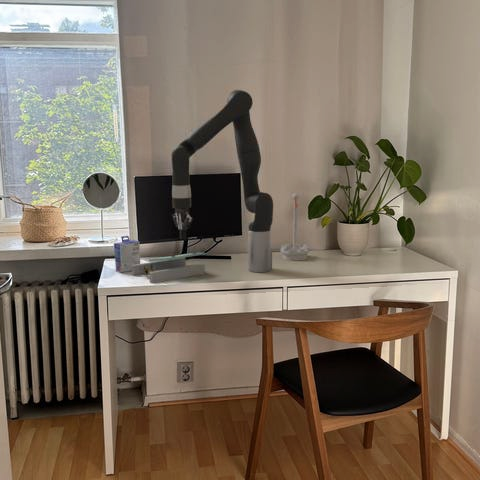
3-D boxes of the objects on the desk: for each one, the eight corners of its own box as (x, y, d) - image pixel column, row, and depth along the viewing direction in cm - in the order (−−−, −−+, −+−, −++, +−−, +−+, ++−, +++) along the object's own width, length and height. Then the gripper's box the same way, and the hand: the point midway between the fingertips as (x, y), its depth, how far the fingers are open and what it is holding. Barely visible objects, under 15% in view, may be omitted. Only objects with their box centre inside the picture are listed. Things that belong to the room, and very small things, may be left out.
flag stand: (278, 255, 294) (278, 191, 288) (305, 254, 295) (306, 191, 289) (283, 261, 281) (283, 195, 275) (311, 260, 282) (312, 194, 276)
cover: (183, 256, 271) (183, 253, 271) (204, 254, 258) (204, 251, 258) (149, 261, 261) (149, 258, 261) (169, 259, 248) (168, 256, 248)
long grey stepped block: (183, 266, 272) (183, 257, 272) (204, 273, 259) (204, 263, 258) (132, 274, 258) (131, 265, 257) (151, 282, 244) (151, 272, 244)
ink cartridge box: (134, 267, 271) (133, 234, 268) (141, 269, 267) (140, 236, 264) (114, 270, 265) (113, 237, 262) (121, 272, 261) (119, 239, 258)
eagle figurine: (135, 276, 251) (149, 275, 244) (141, 259, 253) (155, 259, 247) (149, 283, 256) (163, 282, 249) (154, 267, 258) (168, 266, 252)
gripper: (198, 196, 247) (199, 239, 251) (180, 193, 258) (182, 234, 261) (182, 198, 243) (183, 242, 246) (165, 195, 253) (166, 237, 257)
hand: (182, 238), depth 254 cm, fingers closed
